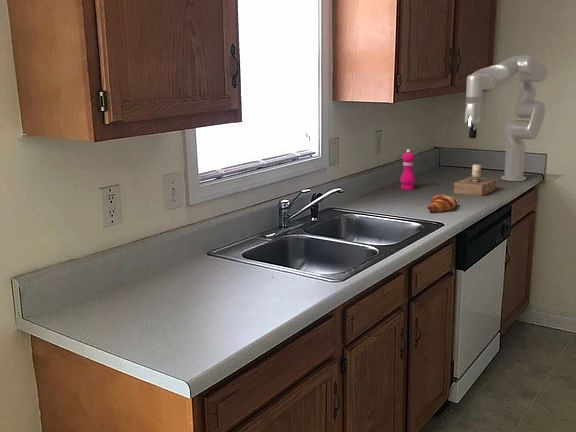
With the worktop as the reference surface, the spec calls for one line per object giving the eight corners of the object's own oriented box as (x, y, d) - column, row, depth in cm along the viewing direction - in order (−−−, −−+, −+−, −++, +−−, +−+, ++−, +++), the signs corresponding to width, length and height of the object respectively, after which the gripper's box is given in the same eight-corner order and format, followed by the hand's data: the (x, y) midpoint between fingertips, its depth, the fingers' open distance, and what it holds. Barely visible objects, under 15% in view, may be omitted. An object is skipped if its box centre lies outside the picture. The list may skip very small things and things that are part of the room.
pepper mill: (415, 189, 325) (416, 150, 320) (401, 190, 325) (402, 150, 320) (413, 187, 332) (414, 148, 327) (399, 187, 332) (399, 148, 327)
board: (469, 186, 331) (470, 176, 330) (496, 189, 322) (497, 179, 321) (453, 193, 315) (454, 183, 314) (481, 196, 307) (482, 185, 306)
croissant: (450, 211, 293) (444, 195, 294) (468, 204, 286) (461, 187, 287) (423, 219, 279) (416, 202, 280) (441, 211, 272) (434, 194, 273)
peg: (473, 187, 322) (474, 164, 319) (481, 188, 319) (482, 164, 316) (469, 189, 318) (471, 165, 316) (478, 190, 316) (479, 165, 313)
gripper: (472, 99, 323) (470, 135, 328) (460, 101, 311) (459, 139, 316) (486, 99, 319) (485, 136, 323) (476, 102, 307) (474, 140, 312)
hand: (472, 138), depth 320 cm, fingers closed
